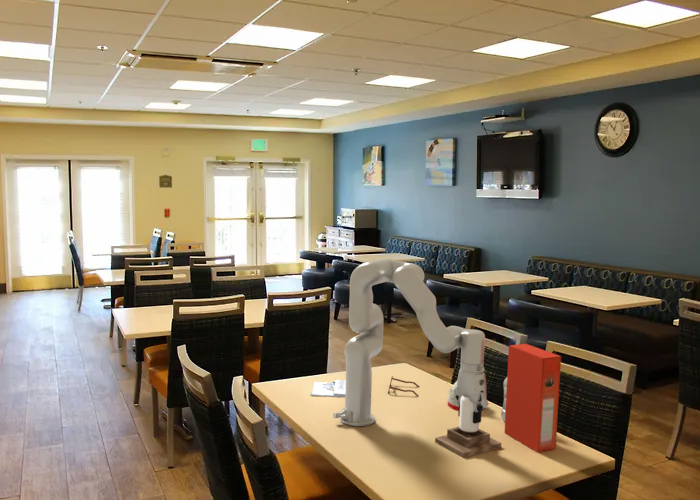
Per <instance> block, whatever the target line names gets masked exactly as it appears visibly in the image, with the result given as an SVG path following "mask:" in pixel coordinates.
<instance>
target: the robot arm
mask: <svg viewBox="0 0 700 500" xmlns="http://www.w3.org/2000/svg"><path fill="white" fill-rule="evenodd" d="M349 278H350V280H349V301H348V303H349V305H348V309H349V310H348V325H349V327H350V329H351V330H352V331H353V332H354V333H359V334H358V335H356V336H355V335H354V336H353V337H352V338H350V339H349V340H348V341H347V342H346V344H345V346H344V360H345V381H346V394H345V397H344V402H345V403H344V407H342V410H341V411H340V412H339V411H338V412H333V414H332V415H333V419H340V422H342V423H343V424H345V425H348V426H351V427H366V426H369V425H372V424H373V423H375V416H374V415H373V414H371V413H372V410H371V409H372V388H373V387H372V385H373V384H372V383H373V369H372V364H371V359H372V358H374V357H375V356H377V355H378V354H379V353H380V352H381V351H382V349H383V345H384V344H383V343H384V314H383V311H382V309H381V308H380V306H379V305H377V303H373V302H374V293H373V290H372V289H373V288H372V287H373V286H375V285H378V284H382V283H392V284H394V285H395V287H396V288H397V289H398V291H399V292H400V294H402V297H404V299H405V300H406V301H407V303H408V304H409V305H410V306H411V308H412V309H413V311H414V313H416V317H417V320H418V323H419V326H420V328H421V330H422V332H423V334H424V335H425V336H426V338H427V339H428V341H429V342H430V343H431V344H432V346H433V347H434V348H435V349H437V351H439V352H440V353H444V354H448V353H451V352H453V351H455V350H456V349H459V348H460V349H461V350H460V351H461V352H460V368H459V370H458V376H457V380H456V381H457V388H456V389H454V391H453V392H454V394H455V396H456V399H457V401H458V402H457V403H458V405H459V411H458V415H457V416H458V417H459V418H460V400H461V397H462V394H463V395H464V396H467V397H469V399H470V401H471V402H472V403H473V405H474V410H475V411H474V412H473V423H474V424H475V423H479V424H480V423H481V421H482V412H483V411H484V410H485V409H486V408H487V407H488V406H489V401H488V399H487V379H486V378H487V377H486V372H485V367H484V364H485V363H484V362H485V361H484V360H485V358H484V357H485V345H486V343H485V340H486V339H485V338H486V335H485V333H484V332H483V331H481V330H479V329H472V328H471V329H468V328H465V327H461V326H459V325H458V326H456V325H450V326H445V324H444V323H443V321H442V320H441V319H440V316H439V314H438V312H437V298H436V296H435V295H434V293H433V292H432V291H431V290H430V289H429V287H428V286H427V284H426V283H425V282H424V280H425V273H424V270H423V268H422V267H421V266H419V264H416V263H412V262H405V261H401V260H396V259H391V258H381V259H376V260H375V259H374V260H369V261H367V262H363V263H361V264H360V265H358V266H357V267H355V269H353V271H352V273H351V275H350V277H349ZM478 400H479V402H478ZM481 401H482V402H481ZM477 404H479V407H477Z"/></svg>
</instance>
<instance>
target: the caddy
mask: <svg viewBox="0 0 700 500" xmlns="http://www.w3.org/2000/svg"><path fill="white" fill-rule="evenodd" d="M446 431H447V433H446V434H445V435H441V436H438V437H435V439H434V443H436V444H438V445H440V446H442V447H443V448H445V449H447V450H449V451H451V452H453V453H454V454H455V455H458V456H460V457H461V458H469V457H470V456H475V455H478V454H482V453H485V452H489V451H493V450H496V449H500V448H502V442H501V441H499V440H497V439H494V438H492V437H491V434H490V433H488V432H486V431H485V430H482V429H481V428H479V430H478V431H477V432H472V433H470V432H464V431H462V430H461V429H460V428H459V426H456V427H452V428H451V427H450V428H448V429H446Z"/></svg>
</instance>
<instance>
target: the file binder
mask: <svg viewBox="0 0 700 500" xmlns="http://www.w3.org/2000/svg"><path fill="white" fill-rule="evenodd" d="M507 356H508V357H507V375H506V377H507V393H506V413H505V421H504V434H505V435H507V436H509V437H510V438H512V439H514V440H515V441H517V442H519V443H521V444H522V445H524V446H526V447H527V448H529V449H531V450H532V451H534V452H535V453H543V452H549V451H554V450H557V432H558V418H559V417H558V415H559V412H558V411H559V399H560V398H559V397H560V381H561V380H560V379H561V364H562V363H561V362H562V356H561V355H559V354H555V353H553V352H550V351H548V350H544V349H542V348H540V347H536V346H534V345H530V344H528V343H520V344H512V345H508V355H507Z"/></svg>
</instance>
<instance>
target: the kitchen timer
mask: <svg viewBox="0 0 700 500" xmlns="http://www.w3.org/2000/svg"><path fill="white" fill-rule="evenodd" d="M456 388H457V380H456V381H455V382H454V383H453V385H452V387H451V388H449V391H448V396H447V397H448V398H447V406H448V407H449V409H452V410H454V411H458V412H459V405H458V403H457V402H458V401H457V399H456V396H455V394H454V392H453V391H454V389H456ZM481 402H482V401H481Z"/></svg>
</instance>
